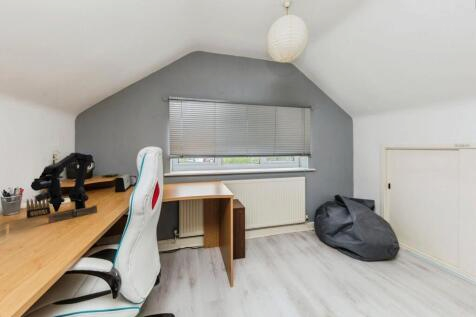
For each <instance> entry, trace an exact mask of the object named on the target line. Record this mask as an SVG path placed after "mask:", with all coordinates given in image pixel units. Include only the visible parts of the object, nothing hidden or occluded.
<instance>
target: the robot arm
mask: <svg viewBox="0 0 476 317" xmlns="http://www.w3.org/2000/svg"><path fill="white" fill-rule="evenodd" d="M93 158H94V157H93V156H92V155H91V154H84V153H81V152H70V154H68V155H67V156H66V157H63V159H61V160H59V161H57V162H56V163H53V164H49V165H47V166H44V168H43V171H42V173H41V174H40V176H39V177H38V178H33V181H32V182H31V184H30V188H31V189H32V190H33V191H35V192H38V191H43V190H46V191H44V192H41V193H39V194H36V195H34V200H35V199H36V200H37V203H38V202H40V201H41V202H42V200H44V199H45V200H46V198H47V199H49V201H48V202H49V204H50V205H52V207H53V209H54V212H55V213H58V212H59V209H60V208H61V205H62V203H64V202H65V201H66V200H65V198H64V196H62V195H63V194H62V187H61V179H63V178H64V176H63V175H61V174H62V173H63V172H64V171H65V168H67V167H68V166H70V165H71V164H72V163H74V162H75V161H76V163H77V165H78V170H77V174H76V176H75V177H76V178H75V182H74V186H73V187H72V188H70V189H69V190H68V194H67V196H68V199H69V200H70V202H71V203H74V209H76V210H79V209H83V208H87V207H86V202H88V200H89V199H90V197H89V196H88V195H87V194H86V190H85V188H84V186H85V181H86V177H87V173H88V169H89V167H90V165H92V162H93Z"/></svg>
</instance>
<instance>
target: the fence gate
mask: <svg viewBox="0 0 476 317" xmlns="http://www.w3.org/2000/svg"><path fill="white" fill-rule="evenodd" d="M47 217H48V218H47V219H48V224H52V223H55V222H60V221H65V220H69V219H73V215H72V210H69V211H65V212H60V213H56V214H53V213H51V214H47Z"/></svg>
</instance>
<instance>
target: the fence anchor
mask: <svg viewBox="0 0 476 317" xmlns="http://www.w3.org/2000/svg"><path fill="white" fill-rule="evenodd" d="M71 211H72V215H73V218H77V217H82V216H86V215H90V214H95V213H98V205H97V204H96V205H95V204H94V205H91V206H88V207H86V208H83V209H79V210H76V209H75V208H74V209H72V210H71ZM73 218H72V219H73Z"/></svg>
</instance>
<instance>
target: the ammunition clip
mask: <svg viewBox="0 0 476 317" xmlns="http://www.w3.org/2000/svg"><path fill="white" fill-rule="evenodd" d="M49 200H50V199H47V198H46V199H44V200H41V201H40V202H38V201H37V200H36V199H35V198H34V199H33V198H31V199H30V201H29V199H28V198H27V199H26V202H25V203H26V206H25V208H26V219H31V218H36V217H42V216H46V215H50V214H52V213H51V212H52V211H51V207H50V206H51V204H50V203H49V202H48V201H49Z"/></svg>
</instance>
